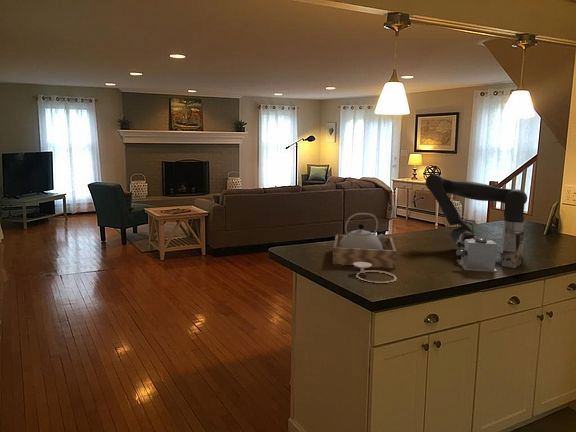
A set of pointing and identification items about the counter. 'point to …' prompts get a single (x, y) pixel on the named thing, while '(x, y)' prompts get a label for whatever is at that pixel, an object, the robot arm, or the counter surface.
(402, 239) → the counter surface
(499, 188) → the robot arm
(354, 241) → the kettle
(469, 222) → the food container
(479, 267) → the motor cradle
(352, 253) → the kettle caddy
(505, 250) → the coffee box
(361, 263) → the hand towel holder
